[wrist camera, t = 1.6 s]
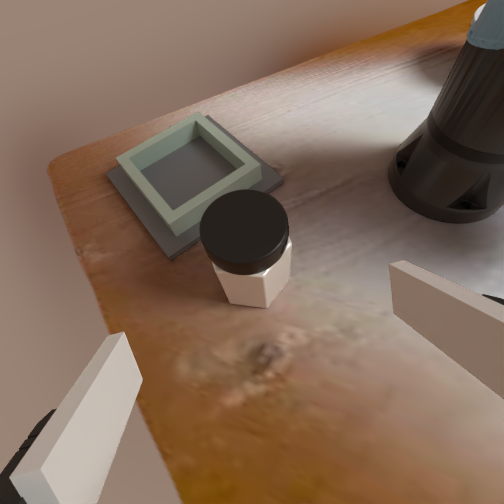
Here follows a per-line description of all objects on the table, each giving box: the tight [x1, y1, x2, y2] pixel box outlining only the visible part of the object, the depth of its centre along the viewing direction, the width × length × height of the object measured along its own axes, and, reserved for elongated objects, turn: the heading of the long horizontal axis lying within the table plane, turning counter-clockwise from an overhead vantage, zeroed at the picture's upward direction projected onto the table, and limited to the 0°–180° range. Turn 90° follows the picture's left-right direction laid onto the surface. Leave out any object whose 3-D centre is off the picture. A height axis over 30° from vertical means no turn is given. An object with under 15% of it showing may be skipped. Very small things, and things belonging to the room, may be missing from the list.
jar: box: [199, 189, 292, 308], centre depth 31 cm, size 9×8×12 cm
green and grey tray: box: [105, 112, 284, 261], centre depth 43 cm, size 20×20×4 cm
